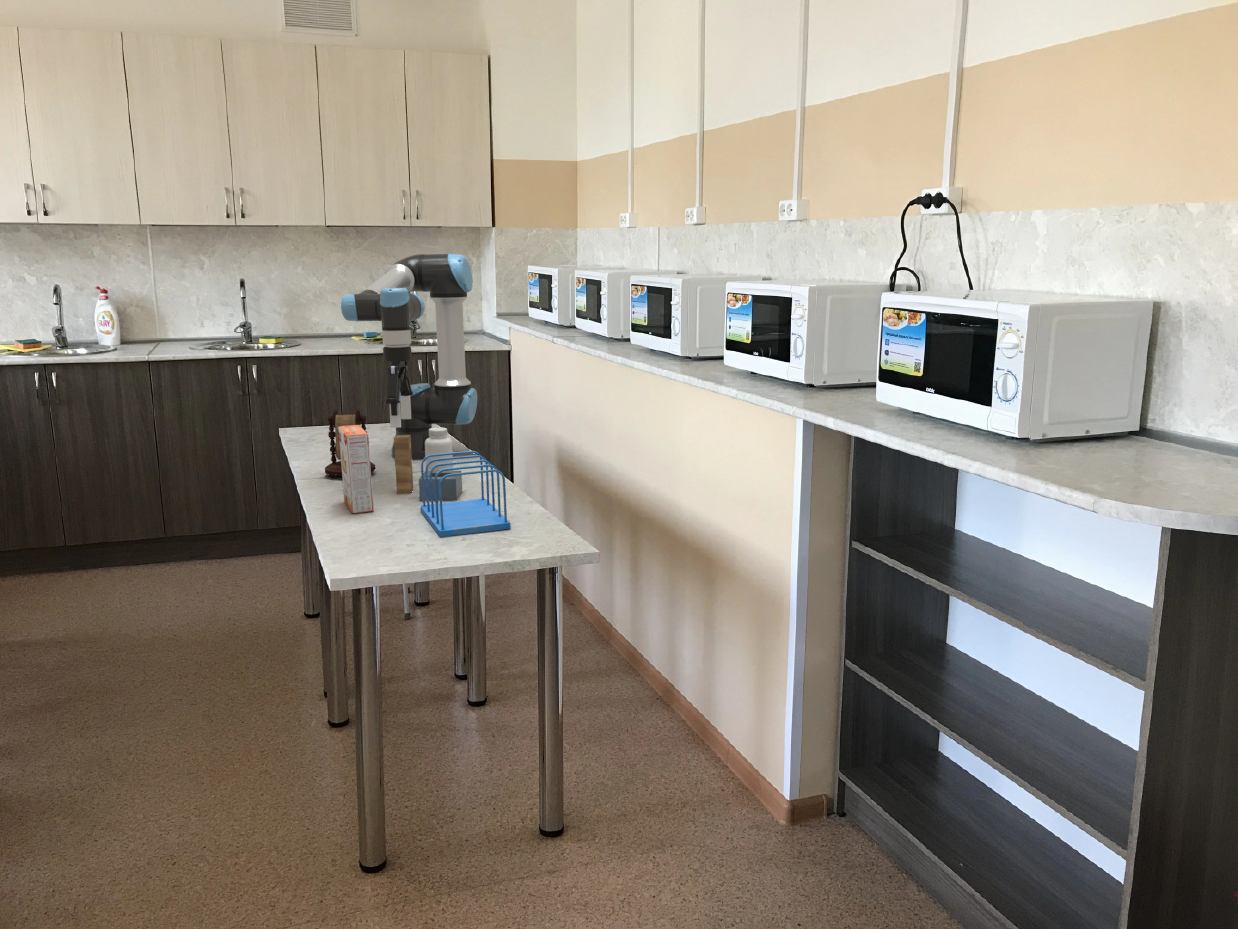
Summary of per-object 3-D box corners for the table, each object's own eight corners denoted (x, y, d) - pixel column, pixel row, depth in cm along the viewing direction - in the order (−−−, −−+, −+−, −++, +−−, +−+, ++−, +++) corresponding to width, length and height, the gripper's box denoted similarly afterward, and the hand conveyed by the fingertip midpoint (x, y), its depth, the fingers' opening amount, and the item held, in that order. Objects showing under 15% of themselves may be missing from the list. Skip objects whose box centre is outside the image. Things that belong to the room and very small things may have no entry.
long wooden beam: (399, 490, 278) (396, 435, 274) (413, 490, 278) (410, 434, 274) (396, 493, 275) (393, 437, 271) (411, 493, 275) (408, 436, 271)
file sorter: (420, 512, 256) (417, 454, 252) (485, 505, 262) (483, 449, 259) (440, 538, 233) (436, 474, 230) (511, 530, 239) (509, 468, 236)
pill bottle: (447, 482, 287) (445, 431, 284) (422, 481, 289) (419, 430, 286) (457, 476, 295) (455, 426, 292) (432, 475, 297) (429, 426, 293)
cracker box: (342, 502, 266) (337, 425, 261) (365, 499, 268) (360, 424, 264) (350, 514, 253) (345, 434, 249) (374, 512, 256) (369, 432, 251)
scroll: (319, 480, 290) (314, 413, 286) (332, 469, 305) (327, 405, 300) (369, 480, 291) (365, 413, 286) (380, 469, 305) (376, 405, 301)
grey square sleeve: (426, 491, 276) (425, 470, 275) (462, 491, 276) (461, 470, 275) (419, 500, 267) (418, 479, 265) (456, 500, 267) (455, 478, 265)
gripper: (393, 341, 280) (397, 415, 284) (372, 350, 255) (376, 431, 260) (419, 341, 280) (423, 415, 284) (401, 350, 255) (405, 430, 260)
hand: (401, 423), depth 272 cm, fingers open, 13 cm apart
